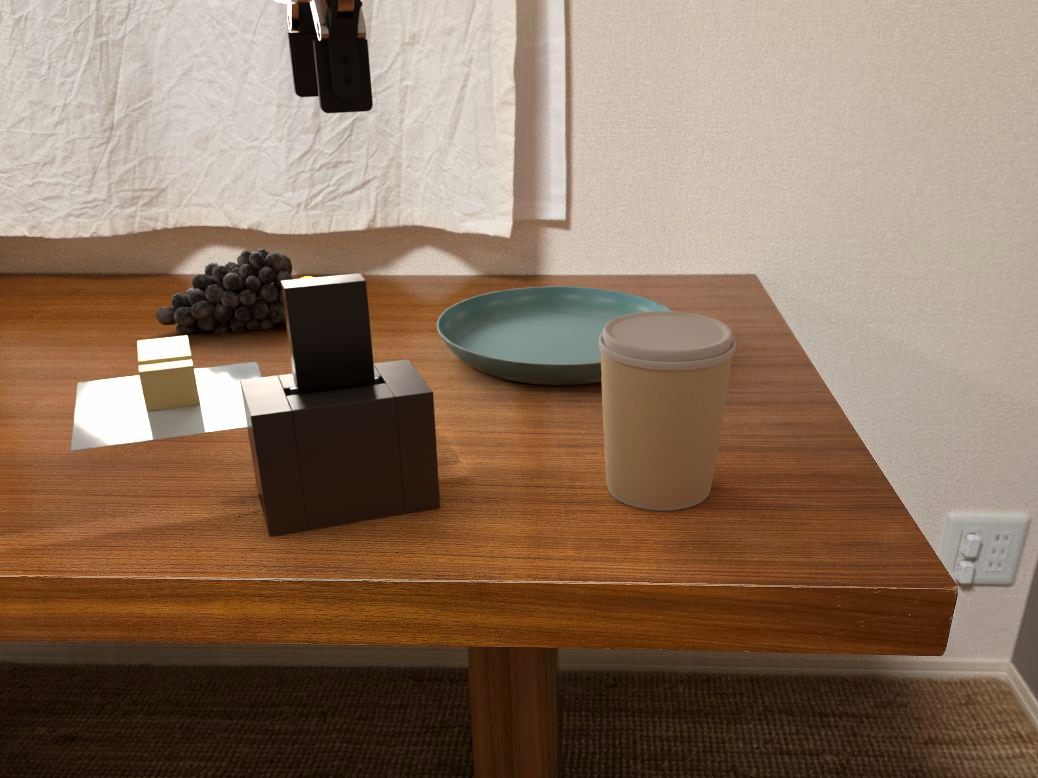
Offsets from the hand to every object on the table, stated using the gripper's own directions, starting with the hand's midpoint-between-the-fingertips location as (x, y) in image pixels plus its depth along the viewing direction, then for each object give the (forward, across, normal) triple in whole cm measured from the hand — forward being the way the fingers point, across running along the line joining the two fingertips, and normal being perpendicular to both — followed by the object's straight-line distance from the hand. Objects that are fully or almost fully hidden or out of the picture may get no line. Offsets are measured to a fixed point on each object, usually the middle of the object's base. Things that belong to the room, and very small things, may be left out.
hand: (332, 103), depth 66 cm
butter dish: (+26, -16, -14) cm, 33 cm away
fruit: (+26, -37, -6) cm, 45 cm away
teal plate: (+26, -18, +24) cm, 40 cm away
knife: (+26, +6, -3) cm, 27 cm away
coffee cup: (+26, +13, +19) cm, 35 cm away
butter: (+25, -20, -14) cm, 35 cm away
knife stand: (+26, +6, -3) cm, 27 cm away
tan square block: (+25, -15, -14) cm, 32 cm away
